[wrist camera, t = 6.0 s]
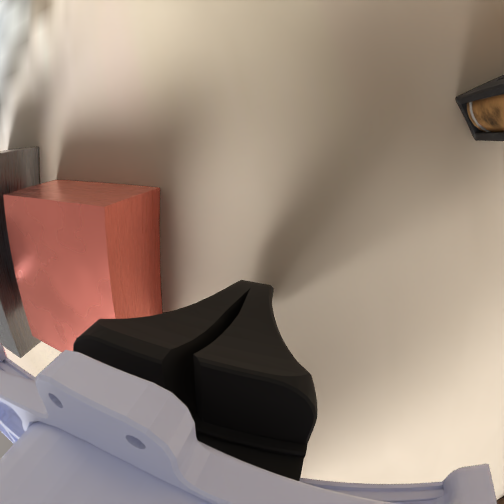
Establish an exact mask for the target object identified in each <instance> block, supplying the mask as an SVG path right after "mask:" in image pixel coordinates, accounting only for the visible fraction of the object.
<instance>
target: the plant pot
mask: <svg viewBox="0 0 504 504" xmlns="http://www.w3.org/2000/svg"><path fill="white" fill-rule="evenodd" d="M497 504H504V497H503V498H501V499H500V500H498V501H497Z"/></svg>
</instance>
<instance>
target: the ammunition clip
mask: <svg viewBox="0 0 504 504" xmlns="http://www.w3.org/2000/svg"><path fill="white" fill-rule="evenodd" d="M456 101H457V103H458V105H459V107H460V109H461V111H462V113H463V115H464V117H465V119H466V121H467V123H468V126H469V128H470V130H471V132H472V134H473V137H474V139H475V140H485V141H504V75H502V76H500V77H498V78H496V79H494V80H491V81H489V82H487V83H485V84H483V85H481V86H478V87H476V88H474V89H472V90H470V91H468V92H466V93H464V94H462V95H460V96H458V97H456Z"/></svg>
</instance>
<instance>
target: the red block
mask: <svg viewBox="0 0 504 504" xmlns="http://www.w3.org/2000/svg"><path fill="white" fill-rule="evenodd" d="M3 197H4V207H5V216H6V224H7V231H8V238H9V244H10V250H11V255H12V261H13V265H14V270H15V275H16V279H17V284H18V288H19V292H20V296H21V299H22V303H23V307H24V310H25V314H26V317H27V320H28V324H29V327H30V330H31V333H32V336H34V337H35V338H37V339H39V340H41V341H42V342H44V343H46V344H48V345H50V346H51V347H53V348H55V349H57V350H59V351H61V352H63V351H64V350H69V351H73V344H74V342H75V340H76V339H77V338H78V337H79V336H80V335H81V334H82V333H83V332H85V331H86V330H87V329H88V328H89V327H90V326H92V325H93V324H94V323H95V322H96V321H97V320H99V319H126V318H137V317H146V316H152V315H157V314H161V313H162V298H161V276H160V232H159V212H160V188H158V187H148V186H137V185H126V184H114V183H101V182H87V181H71V180H53V181H49V182H45V183H42V184H38V185H34V186H31V187H27V188H24V189H20V190H17V191H14V192H10V193H7V194H4V195H3Z"/></svg>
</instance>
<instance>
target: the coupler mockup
mask: <svg viewBox="0 0 504 504" xmlns="http://www.w3.org/2000/svg"><path fill="white" fill-rule="evenodd" d="M38 184H39V147H30V148H20V149H11V150H4V151H0V343H1V344H2V345H3V346H4V347H6V348H7V349H8V350H10V351H11V352H13V353H14V354H15V355H17V356H18V357H20V358H21V357H23V356H24V355H25V354H26V353H27V352H29V351H30V350H31V349H32V348H33V347H35V346H36V345H37V344H38V343H39V342H41V340H39V339H37V338H35V337H34V336H32V333H31V330H30V327H29V324H28V320H27V317H26V314H25V310H24V307H23V303H22V299H21V296H20V292H19V288H18V284H17V279H16V275H15V270H14V265H13V261H12V255H11V250H10V244H9V238H8V231H7V224H6V216H5V207H4V197H3V195H4V194H7V193H10V192H14V191H17V190H20V189H24V188H27V187H31V186H34V185H38Z"/></svg>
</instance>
